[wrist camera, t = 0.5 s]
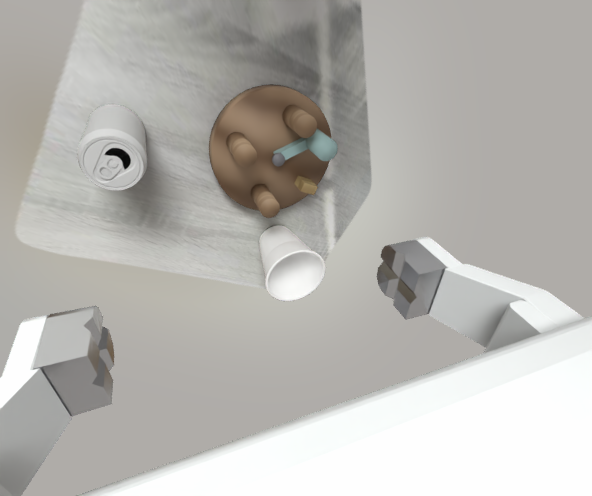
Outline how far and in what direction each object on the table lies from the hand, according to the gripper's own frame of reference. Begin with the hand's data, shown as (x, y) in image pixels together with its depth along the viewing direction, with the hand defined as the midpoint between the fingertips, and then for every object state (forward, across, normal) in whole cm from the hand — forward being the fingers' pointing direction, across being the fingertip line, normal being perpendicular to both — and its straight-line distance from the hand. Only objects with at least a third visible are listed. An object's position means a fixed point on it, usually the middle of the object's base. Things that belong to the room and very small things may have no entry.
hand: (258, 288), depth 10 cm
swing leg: (+39, -16, +11) cm, 44 cm away
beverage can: (+42, +7, +7) cm, 43 cm away
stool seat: (+42, -13, +12) cm, 45 cm away
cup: (+42, -14, +28) cm, 52 cm away
